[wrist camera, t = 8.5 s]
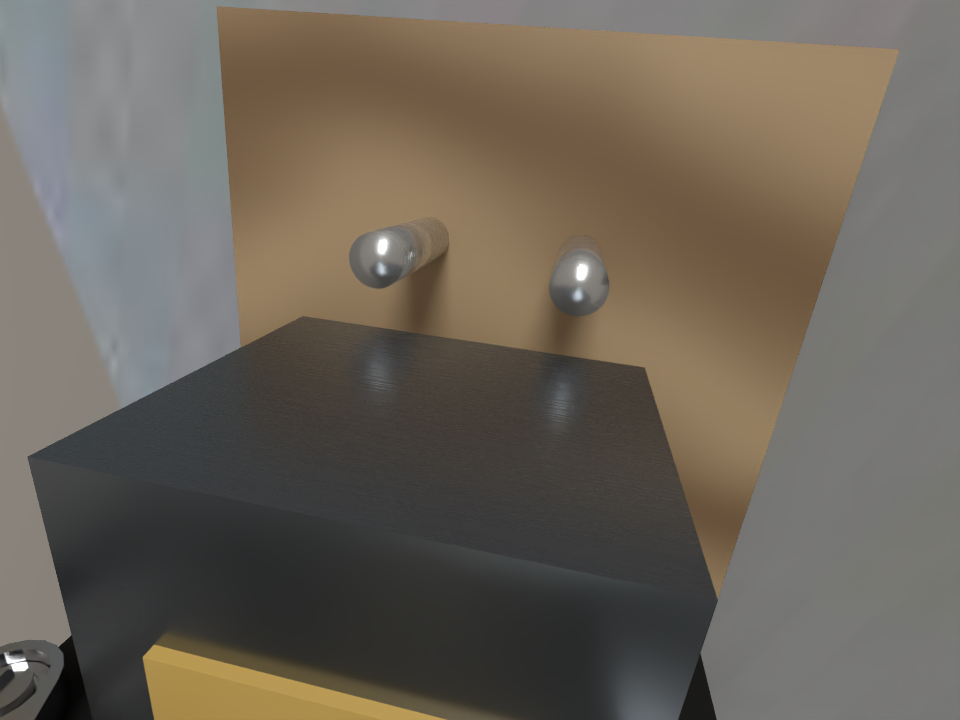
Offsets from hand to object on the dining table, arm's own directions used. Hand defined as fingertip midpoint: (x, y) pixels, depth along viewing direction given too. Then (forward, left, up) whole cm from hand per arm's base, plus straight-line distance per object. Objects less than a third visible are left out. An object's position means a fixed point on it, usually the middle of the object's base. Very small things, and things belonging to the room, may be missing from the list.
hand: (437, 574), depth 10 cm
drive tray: (0, 0, -6) cm, 6 cm away
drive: (0, 0, -1) cm, 1 cm away
